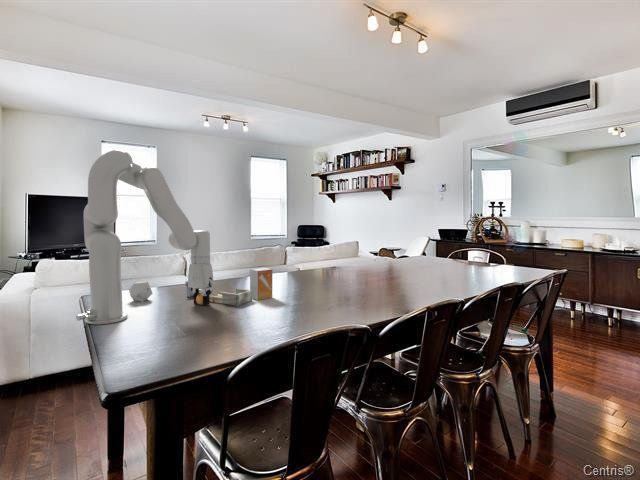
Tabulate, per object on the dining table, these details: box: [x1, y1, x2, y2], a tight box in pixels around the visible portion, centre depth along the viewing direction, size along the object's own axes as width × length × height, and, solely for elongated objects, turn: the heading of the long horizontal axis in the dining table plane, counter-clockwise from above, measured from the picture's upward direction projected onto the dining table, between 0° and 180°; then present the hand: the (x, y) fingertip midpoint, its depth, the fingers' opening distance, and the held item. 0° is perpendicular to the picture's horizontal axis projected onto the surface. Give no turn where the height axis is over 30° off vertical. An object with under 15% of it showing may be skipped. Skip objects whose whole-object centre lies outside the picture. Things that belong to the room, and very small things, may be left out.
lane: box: [209, 288, 253, 307], centre depth 155 cm, size 10×18×4 cm, turn 64°
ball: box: [196, 294, 204, 306], centre depth 148 cm, size 4×4×4 cm
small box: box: [249, 267, 273, 301], centre depth 160 cm, size 8×6×13 cm
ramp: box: [184, 280, 217, 298], centre depth 161 cm, size 5×15×7 cm, turn 64°
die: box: [128, 281, 153, 303], centre depth 154 cm, size 8×9×10 cm
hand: (201, 303), depth 148 cm, fingers closed on ball, 4 cm apart
